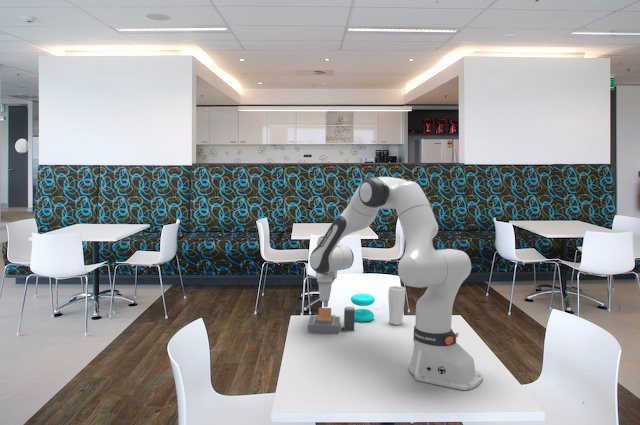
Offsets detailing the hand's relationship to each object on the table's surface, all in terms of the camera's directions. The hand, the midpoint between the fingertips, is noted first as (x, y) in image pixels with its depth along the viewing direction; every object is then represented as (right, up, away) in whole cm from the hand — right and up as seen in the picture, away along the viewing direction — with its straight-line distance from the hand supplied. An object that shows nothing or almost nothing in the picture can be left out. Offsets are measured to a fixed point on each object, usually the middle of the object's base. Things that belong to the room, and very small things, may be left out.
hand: (325, 306), depth 209 cm
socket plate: (-1, -7, -10) cm, 12 cm away
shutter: (-1, -4, -8) cm, 9 cm away
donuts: (+16, -6, +3) cm, 17 cm away
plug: (+9, -7, -10) cm, 16 cm away
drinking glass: (+29, -7, -2) cm, 30 cm away
